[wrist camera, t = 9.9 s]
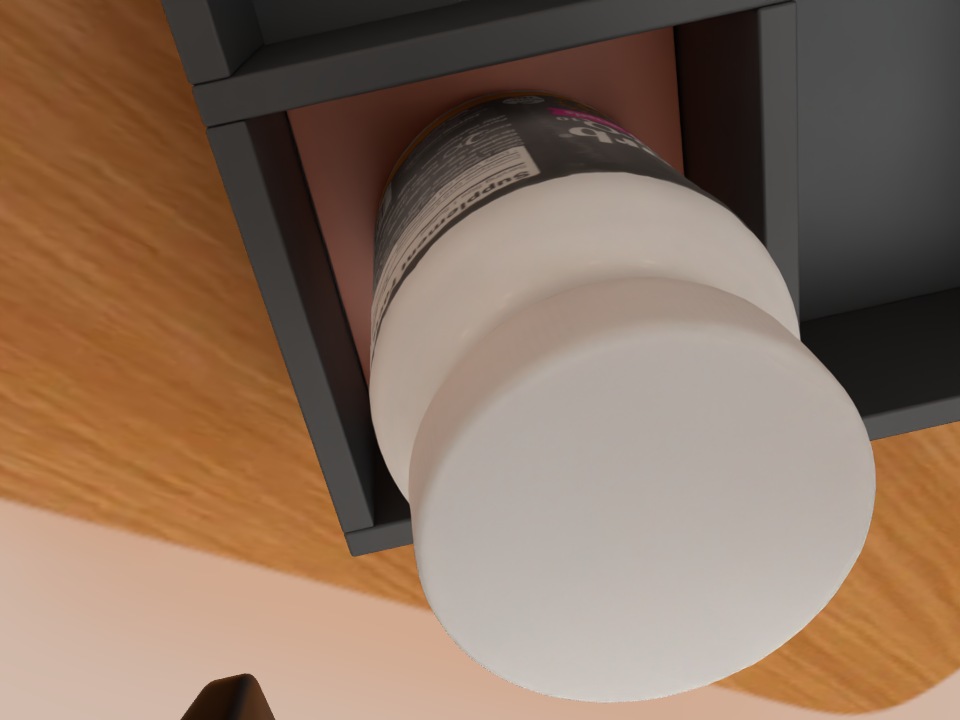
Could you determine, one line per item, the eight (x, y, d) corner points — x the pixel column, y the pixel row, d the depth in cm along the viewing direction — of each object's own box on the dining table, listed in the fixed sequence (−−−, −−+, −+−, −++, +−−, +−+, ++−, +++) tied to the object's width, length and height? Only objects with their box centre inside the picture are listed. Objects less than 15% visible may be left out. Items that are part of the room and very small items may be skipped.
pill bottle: (704, 208, 17) (1046, 491, 8) (520, 399, 19) (646, 805, 10) (501, 15, 15) (675, 123, 6) (313, 249, 17) (242, 596, 8)
